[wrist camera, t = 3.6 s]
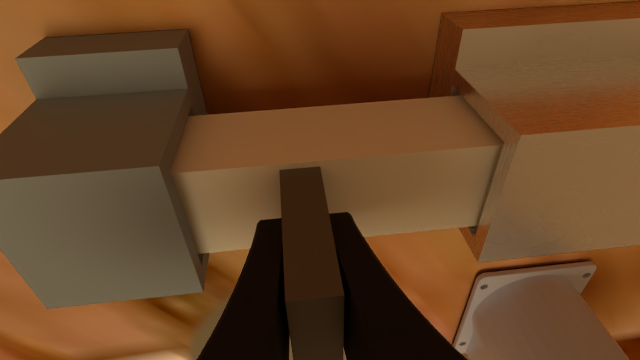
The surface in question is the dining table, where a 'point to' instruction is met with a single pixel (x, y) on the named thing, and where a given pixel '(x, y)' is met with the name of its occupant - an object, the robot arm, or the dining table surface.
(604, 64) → the beige stepped block
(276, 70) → the dining table surface
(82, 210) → the slate stepped block
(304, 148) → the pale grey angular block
